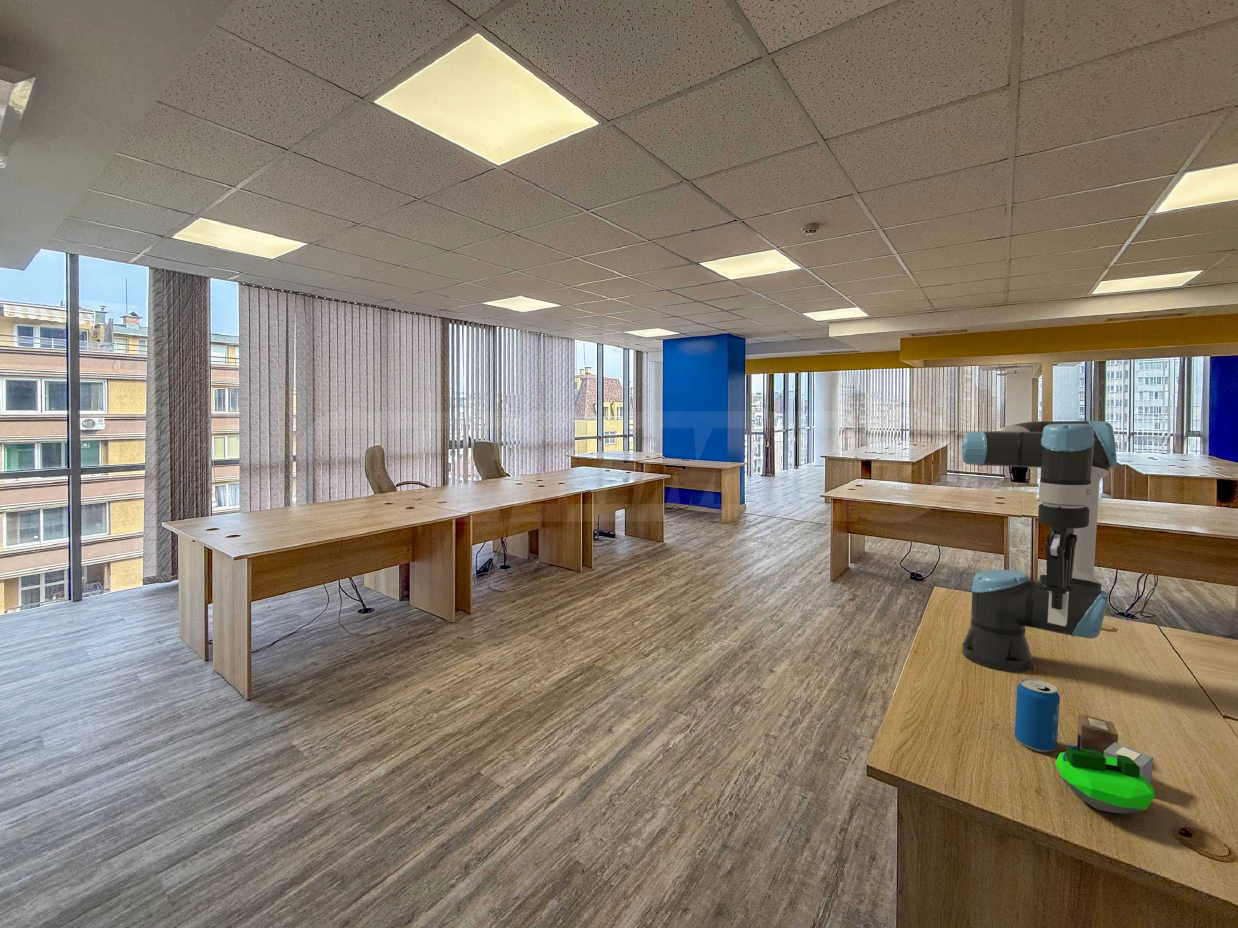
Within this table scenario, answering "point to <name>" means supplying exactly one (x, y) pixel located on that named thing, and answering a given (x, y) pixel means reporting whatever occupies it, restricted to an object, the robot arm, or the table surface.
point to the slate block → (1138, 757)
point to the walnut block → (1096, 733)
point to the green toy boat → (1105, 780)
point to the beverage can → (1037, 715)
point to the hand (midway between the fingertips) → (1057, 623)
